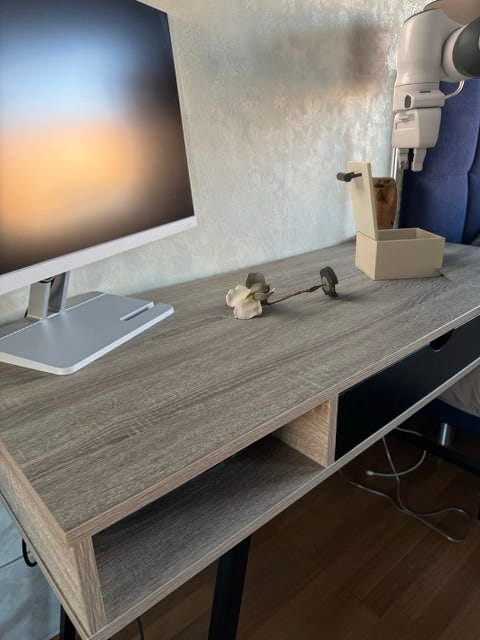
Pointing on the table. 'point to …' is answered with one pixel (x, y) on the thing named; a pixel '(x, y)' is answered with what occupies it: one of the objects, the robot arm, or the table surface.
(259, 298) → the artificial flower
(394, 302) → the table surface
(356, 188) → the lid
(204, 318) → the table surface
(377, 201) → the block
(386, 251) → the beige open box
